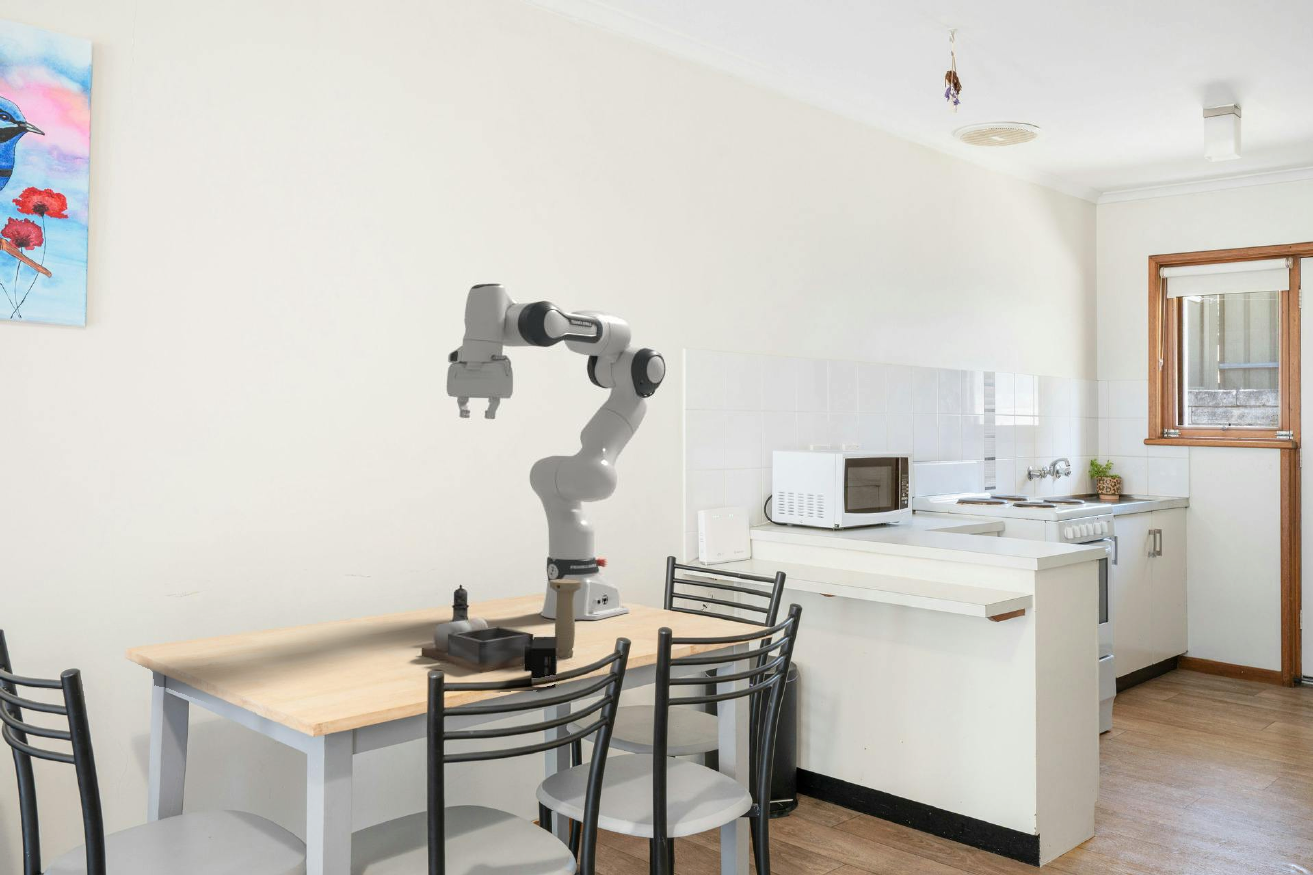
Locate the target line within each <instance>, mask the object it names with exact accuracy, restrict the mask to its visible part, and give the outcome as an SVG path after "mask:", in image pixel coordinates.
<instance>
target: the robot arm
mask: <svg viewBox="0 0 1313 875" xmlns="http://www.w3.org/2000/svg"><path fill="white" fill-rule="evenodd" d="M463 321H464V326H465V332H464V335H463V338H462V344H461V345H460V346H459V347H457V348H456V349H455V350H453V351H451V352H449V354H448V357H447V358H448V359H447V362H448V363H450V365H449V366H448V368H447V369H448V370H447V375H446V393H447V395H448V396H449V397H452V398H457V401H456V403H457V406H458V409H459V417H460V418H461V419H462V418H463V419H469V418H470V417H471V416H470V415H471V410H469V408H468V403H469V401H470V398H471V399H472V398H473V399H488V403H489V404H488V407H487V410H485V411H484V419H486V420H495V419H496V412H497V411H498V408H499V406H500V404H501V399H510V398H511V396H512V395H513V392H514V391H513V390H514V373H513V368H512V361H511V360H510V358H509V357H508V355H505V354H504V355H503V349H504V346H505V347H514V348H515V347H539V348H540V347H541V348H549V347H552V346H554V345H556V344H558V343H561V342H562V341H564V344H565V345H566V347H567V349H568V350H569V351H571V352H574V353H576V354H580V355H583V356H588V359H587V364H586V370H587V375H588V379H589V380H590V382H591V383H592V384H593V385H594V386H597V387H599V388H602V389H611V390H610V392H609V393H610V394H609V397H608V398H607V400H606V401H605V402H604V403H603V404H602V405H601V406H600V407H599V409H598V410H597V411H596V412H595V413H594V415H593V416H592V418H590V419H589V421H588V422H587V424H586V425H585V426H584V427H583V429H581V432H580V437H579V439H580V443H581V445H582V447H581V448H580V450H579V451H578V452H577V453H576V454H573V455H551V456H547V457H543V458H540V459H538V460H537V461H535V463H533V465H532V467H531V469H530V471H529V484H530V486H531V489H532V490H533V492H534V493H535V494H536V495H537V496H538V497H539V499H540V501H541V504H542V507H543V509H544V513H545V515H546V521H547V525H548V526H547V528H548V557H546V558H547V559H546V575H547V576H546V577H547V584H546V588H545V589H546V591H545V597H544V602H543V607H542V611H541V614H540V615H541V616H542V617H545V618H549V619H555V620H556V606H557V592H556V591H555V590H553V589H552V588H551V587H550V580H555V579H568V580H578V581H581V588H580V589H579V590H577V591H576V592H574V618H575V620H584V621H585V620H588V621H589V620H590V621H597V620H601V619H605V618H611V617H614V616H619V615H623V614H627V613H630V608H629V607H628V606H625V605H622V604H621V602H620V600H621V599H620V592H619V589H618V587H617V586H616V585H615V584H613V583H612V582H611V581H610V580H609V579H608V578H606V577H605V576H604V575H603V574H602V573H600V568H599V567H601V568H605V567H607V565H608V564H607V563H608V561H607V559H606V558H601V557H599V558H598V559H596V557H595V550H594V549H595V527H594V524H593V522H592V521H591V520H590V519H589V518H588V517H587V516H586V512H585V511H584V509H583V506H582V502H583V503H593V502H598V501H602V500H606V499H608V498H609V497H611V496H612V495H613V493H614V492H615V490H616V488H617V482H618V477H617V476H618V475H617V471H616V469H615V463H616V460H617V459H618V457H619V455H620V454H621V453H622V451H623V450H624V448H626V445H627V444H628V443H629V442H630V441H631V439H632V438H633V436H634V434H635V433H636V432H637V430H638V429H639V427H640V426H641V424H642V421H643V420H644V417H645V415H646V413H647V410H648V409H647V408H648V407H647V406H648V405H647V401H646V400H645V399H648V398H649V397H652V396H653V395H654V394H655V392H656V390H657V389H658V388H659V387H660V385H661V383H662V382H663V380H664V379H665V376H666V364H665V360H664V357H663V356H662V354H661V353H659V352H658V351H656V350H654V349H652V348H648V347H643V348H640V347H632V346H631V344H630V343H631V340H632V331H631V327H630V324H628V322H627V321H626V320H625V319H624V318H621V317H620V316H617V315H614V314H611V313H607V312H603V311H598V310H588V309H587V310H579V311H572V312H571V313H569V312H566V311H564V310H563V309H561V308H560V307H559V306H557V305H556V304H555V303H553V302H551V301H546V300H540V301H535V302H527V303H523V302H522V303H519V302H517V301H515V300H514V299H513V298H512V297H511V296H510V295H509V294H508V292H507V291H506V289H505V286H504V285H503V284H500V283H482V284H481V283H480V284H475V285H473V286H471V288H470V289H469V291H468V294H467V298H466V302H465V310H464V320H463Z"/></svg>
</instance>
